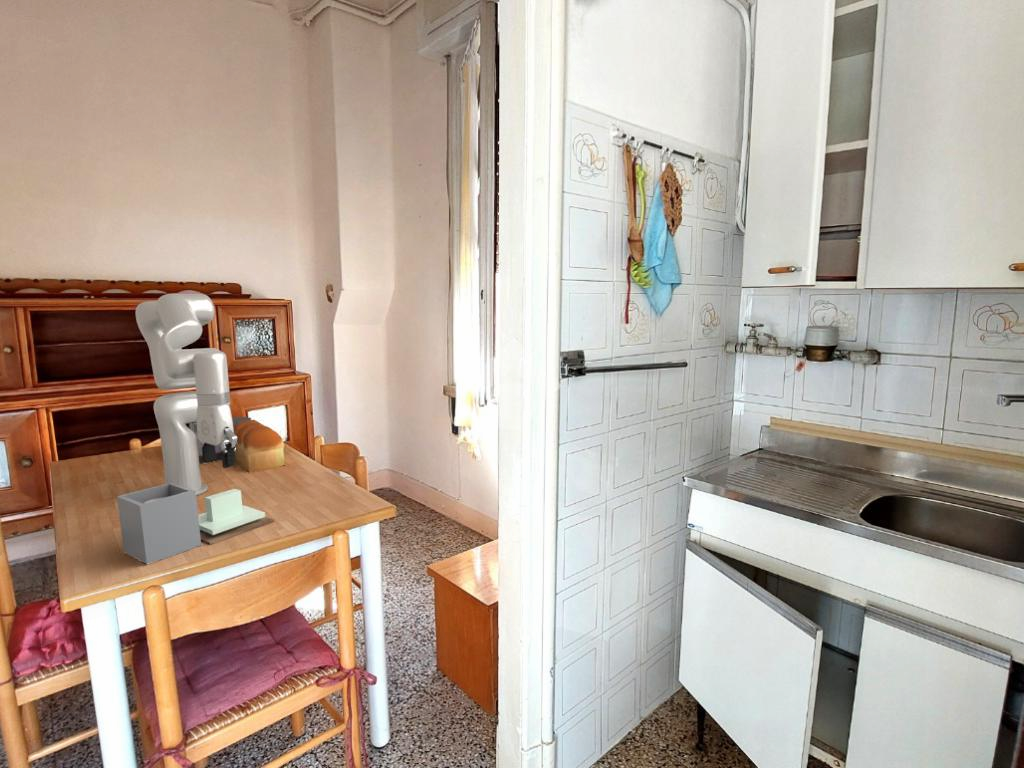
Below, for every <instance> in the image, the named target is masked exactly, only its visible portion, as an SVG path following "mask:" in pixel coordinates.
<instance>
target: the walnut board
mask: <svg viewBox="0 0 1024 768" xmlns="http://www.w3.org/2000/svg"><path fill="white" fill-rule="evenodd" d="M272 523H275V519H274V518H271V517H267V516H265V517H263V518H260V519H257V520H254V521H252V522H249V523H246V524H243V525H240V526H237V527H234V528H232V529H229V530H226V531H223V532H220V533H217V534H214V535H212V534H209V533H207V532H205V531H202V530H200V538H201V540H203V541H205V542H207V543H206V544H208V543H209V544H208V545H210V544H212V543H214V544H217V543H220V542H223V541H225V540H228V539H231V538H233V537H236V536H238V535H241V534H243V533H247V532H251V531H253V530H255V528H256V529H258V528H260V527H264V526H266V525H269V524H272ZM222 540H223V541H222ZM203 541H202V542H203ZM205 542H204V543H205ZM216 542H217V543H216ZM212 545H213V544H212Z"/></svg>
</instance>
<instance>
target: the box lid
mask: <svg viewBox="0 0 1024 768" xmlns="http://www.w3.org/2000/svg"><path fill="white" fill-rule="evenodd" d="M242 498H243V497H242V490H241V489H236V488H232V489H229V490H226V491H222V492H219V493H215V494H212V495H209V496H205V497H204V503H205V504H204V505H205V512H203V513H200V514H199V513H198V519H199V529H200V530H202V531H205V532H207V533H209V534H212V535H214V534H217V533H220V532H223V531H226V530H229V529H232V528H234V527H237V526H240V525H243V524H246V523H249V522H252V521H254V520H257V519H260V518H263V517H266V512H265V511H262V510H260V509H259V510H258V509H256V508H253V507H251V506H247V505H243V500H242Z"/></svg>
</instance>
